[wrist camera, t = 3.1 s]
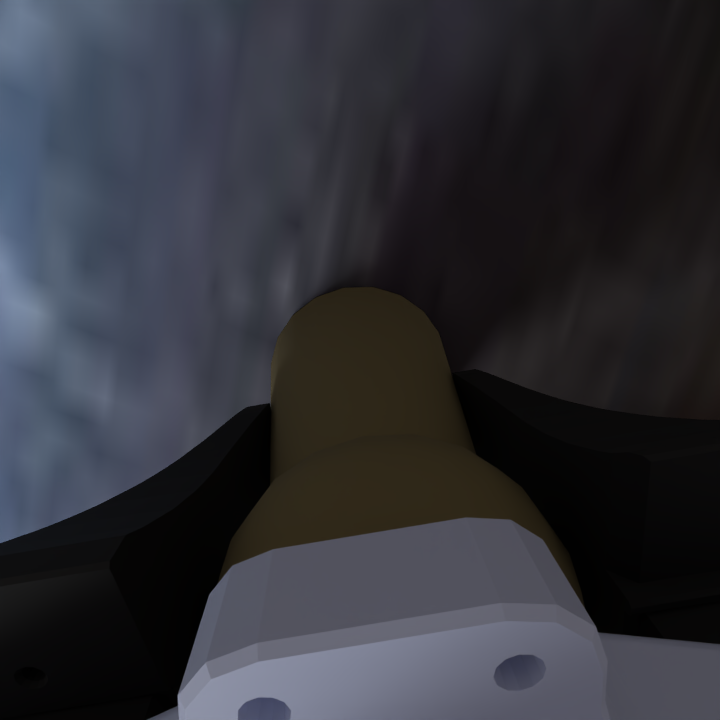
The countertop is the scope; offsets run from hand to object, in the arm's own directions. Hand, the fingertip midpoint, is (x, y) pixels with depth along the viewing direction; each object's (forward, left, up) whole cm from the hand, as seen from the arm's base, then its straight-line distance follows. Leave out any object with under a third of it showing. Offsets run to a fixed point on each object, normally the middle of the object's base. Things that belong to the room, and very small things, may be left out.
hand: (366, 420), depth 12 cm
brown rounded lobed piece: (0, 0, -4) cm, 4 cm away
